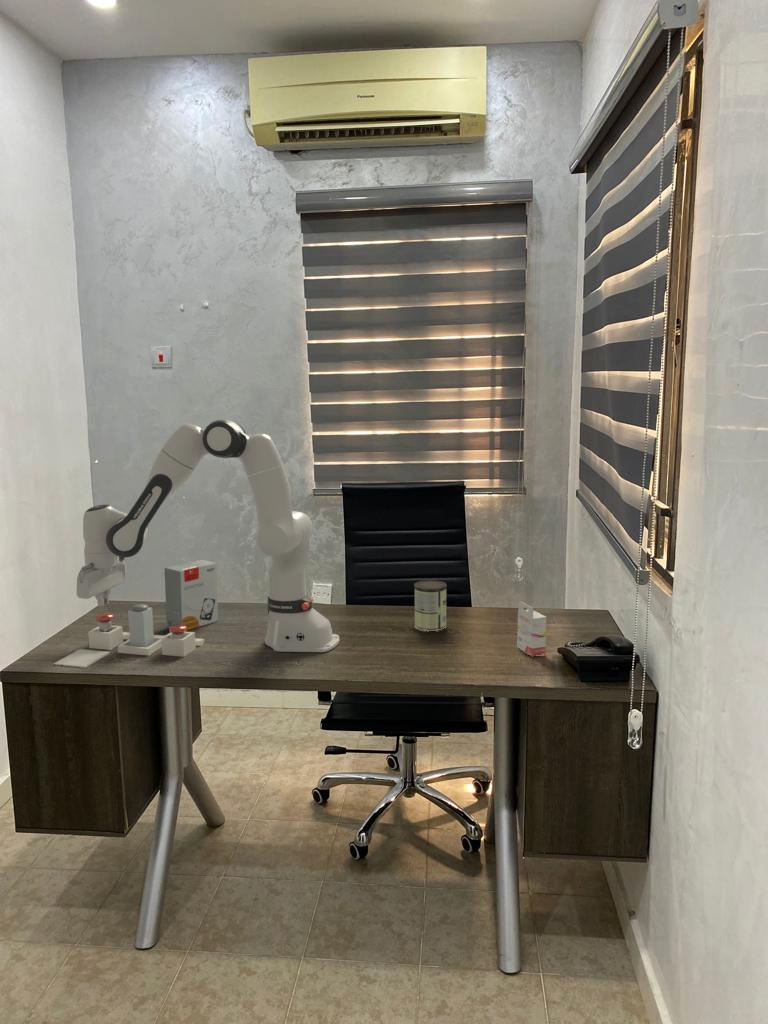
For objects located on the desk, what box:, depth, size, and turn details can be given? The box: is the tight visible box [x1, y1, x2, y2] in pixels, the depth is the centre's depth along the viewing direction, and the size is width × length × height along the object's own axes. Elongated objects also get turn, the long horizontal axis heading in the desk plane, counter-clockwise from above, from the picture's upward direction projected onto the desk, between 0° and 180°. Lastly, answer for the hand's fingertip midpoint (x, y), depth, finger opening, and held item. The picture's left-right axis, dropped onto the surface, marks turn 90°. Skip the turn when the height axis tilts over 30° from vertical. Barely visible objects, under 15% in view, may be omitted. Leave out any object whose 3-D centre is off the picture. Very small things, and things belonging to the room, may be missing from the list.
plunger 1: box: [95, 612, 115, 632], centre depth 241 cm, size 5×5×7 cm
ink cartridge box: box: [516, 600, 548, 656], centre depth 233 cm, size 9×5×15 cm, turn 21°
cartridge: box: [127, 603, 155, 647], centre depth 238 cm, size 5×5×13 cm
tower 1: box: [87, 625, 124, 651], centre depth 241 cm, size 7×7×5 cm
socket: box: [117, 631, 205, 656], centre depth 240 cm, size 32×13×2 cm, turn 76°
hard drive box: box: [164, 559, 219, 631], centre depth 259 cm, size 16×8×20 cm, turn 143°
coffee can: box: [413, 579, 448, 632], centre depth 256 cm, size 10×10×14 cm
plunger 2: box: [168, 624, 188, 639], centre depth 235 cm, size 5×5×7 cm
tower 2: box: [161, 631, 197, 658], centre depth 235 cm, size 7×7×5 cm
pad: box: [53, 648, 111, 669], centre depth 230 cm, size 10×12×1 cm
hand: (103, 605), depth 240 cm, fingers closed
